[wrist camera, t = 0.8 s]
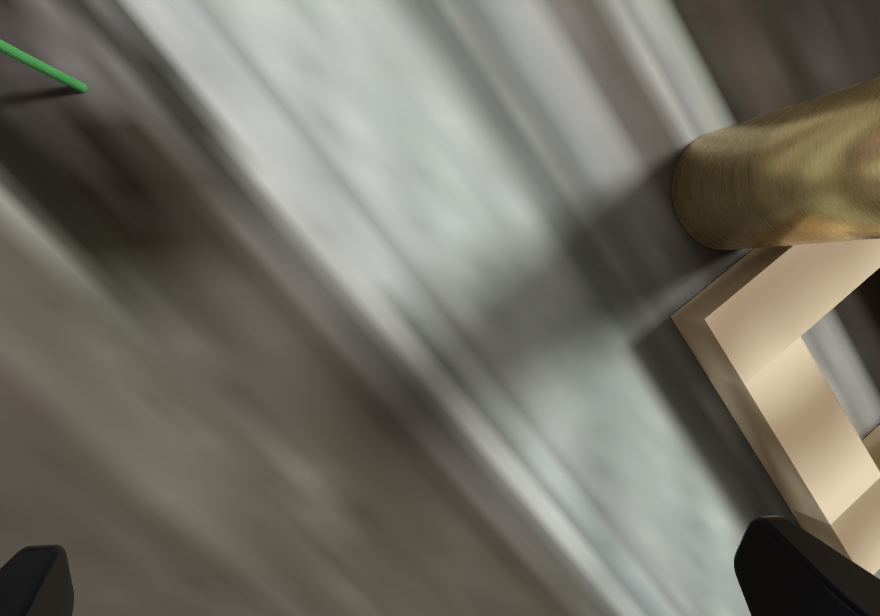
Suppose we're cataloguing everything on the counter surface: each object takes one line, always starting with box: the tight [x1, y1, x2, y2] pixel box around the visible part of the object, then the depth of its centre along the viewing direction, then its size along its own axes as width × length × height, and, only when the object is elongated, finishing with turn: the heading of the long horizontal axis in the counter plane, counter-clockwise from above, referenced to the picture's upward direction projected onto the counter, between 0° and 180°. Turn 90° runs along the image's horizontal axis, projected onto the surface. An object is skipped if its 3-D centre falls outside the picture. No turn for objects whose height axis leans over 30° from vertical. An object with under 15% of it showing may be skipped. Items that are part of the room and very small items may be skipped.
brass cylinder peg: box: [672, 77, 880, 250], centre depth 20 cm, size 4×4×13 cm
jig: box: [671, 239, 880, 575], centre depth 27 cm, size 12×12×2 cm
